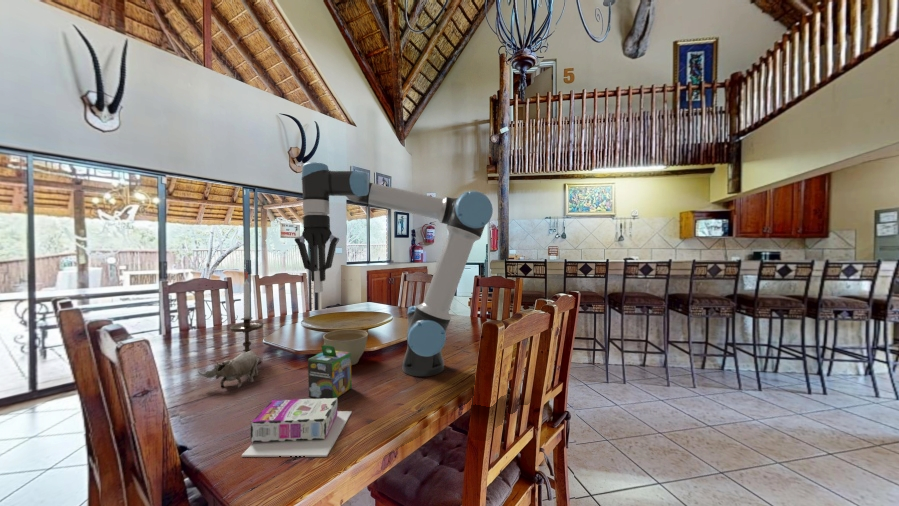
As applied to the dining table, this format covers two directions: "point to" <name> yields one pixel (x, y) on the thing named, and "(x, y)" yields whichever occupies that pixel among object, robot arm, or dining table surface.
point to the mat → (300, 443)
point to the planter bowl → (347, 342)
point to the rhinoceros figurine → (235, 368)
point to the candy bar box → (294, 420)
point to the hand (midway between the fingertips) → (318, 291)
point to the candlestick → (246, 319)
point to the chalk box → (329, 373)
